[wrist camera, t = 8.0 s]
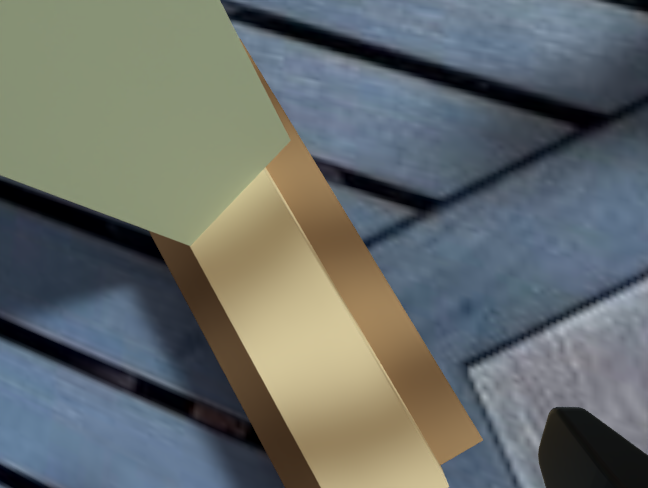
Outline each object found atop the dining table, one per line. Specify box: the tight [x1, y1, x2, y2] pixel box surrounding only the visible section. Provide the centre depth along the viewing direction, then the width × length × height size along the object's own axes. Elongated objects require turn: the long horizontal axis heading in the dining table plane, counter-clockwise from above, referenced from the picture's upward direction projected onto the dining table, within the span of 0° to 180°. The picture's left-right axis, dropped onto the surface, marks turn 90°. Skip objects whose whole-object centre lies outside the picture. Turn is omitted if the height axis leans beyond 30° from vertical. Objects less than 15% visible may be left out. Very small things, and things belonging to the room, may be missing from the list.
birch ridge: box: [149, 39, 483, 488], centre depth 20 cm, size 18×7×4 cm, turn 30°
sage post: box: [0, 0, 291, 246], centre depth 13 cm, size 5×5×12 cm
